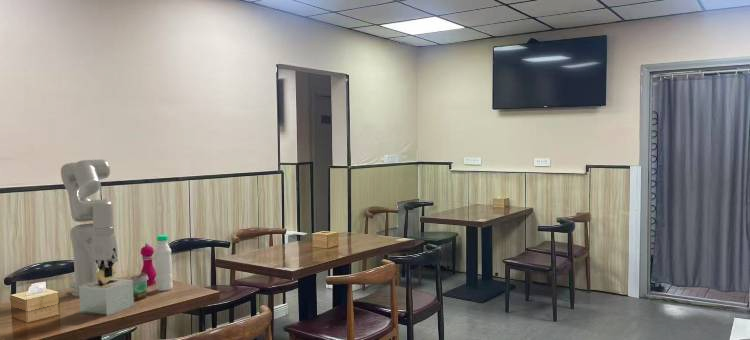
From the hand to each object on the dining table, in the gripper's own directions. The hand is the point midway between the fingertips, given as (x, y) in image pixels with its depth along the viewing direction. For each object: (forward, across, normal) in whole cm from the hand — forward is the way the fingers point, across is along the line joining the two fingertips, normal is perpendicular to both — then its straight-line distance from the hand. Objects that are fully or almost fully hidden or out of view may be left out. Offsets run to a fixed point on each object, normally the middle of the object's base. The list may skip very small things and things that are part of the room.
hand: (106, 276), depth 233 cm
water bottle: (+14, 0, +33) cm, 36 cm away
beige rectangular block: (+1, 0, -3) cm, 4 cm away
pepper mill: (+14, -15, +39) cm, 44 cm away
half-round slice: (+14, +1, +17) cm, 22 cm away
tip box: (+14, 0, 0) cm, 14 cm away
